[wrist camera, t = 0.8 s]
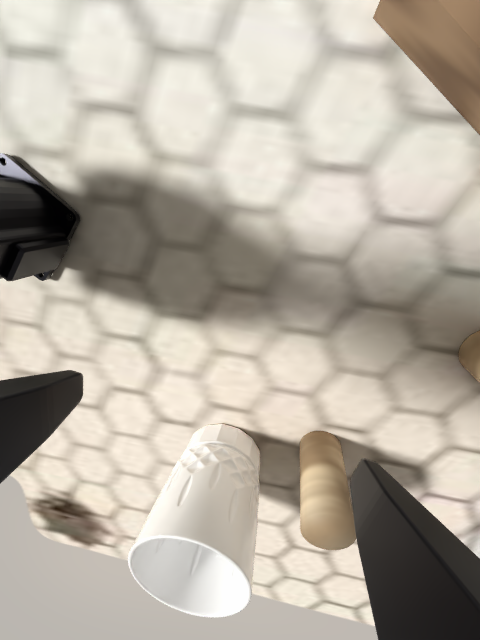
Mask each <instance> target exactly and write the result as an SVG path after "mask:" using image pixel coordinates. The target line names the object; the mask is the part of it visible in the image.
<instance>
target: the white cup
mask: <svg viewBox="0 0 480 640" xmlns="http://www.w3.org/2000/svg"><path fill="white" fill-rule="evenodd" d="M259 472H260V450H259V449H258V447H257V445H256V444H255V442H254V440H253V439H252V438H251V437H250V436H248V435H247V434H246V433H244V432H243V431H242V430H240V429H239V428H235V427H232V426H228V425H225V424H214V425H206V426H204V427H203V428H201V429H199V430H198V431H196V432H195V433H194V434H193V436H192V438H191V440H190V442H189V444H188V446H187V448H186V450H185V451H184V453H183V455H182V456H181V458H180V459H179V460H178V461H177V464H176V466H175V467H174V469H173V470H172V472H171V474H170V476H169V478H168V480H167V482H166V483H165V485H164V487H163V488H162V490H161V492H160V494H159V496H158V498H157V500H156V502H155V504H154V506H153V508H152V510H151V512H150V514H149V516H148V517H147V519H146V521H145V523H144V525H143V527H142V529H141V531H140V533H139V534H138V536H137V538H136V540H135V542H134V544H133V546H132V548H131V550H130V552H129V555H128V564H129V568H130V571H131V573H132V575H133V577H134V578H135V580H136V581H137V583H138V584H139V585H140V586H141V587H142V588H143V589H144V590H145V591H146V592H147V593H149V594H150V595H151V596H153V597H154V598H155V599H157V600H159V601H160V602H162V603H164V604H165V605H167V606H169V607H172V608H174V609H176V610H179V611H182V612H185V613H188V614H192V615H196V616H203V617H225V616H230V615H233V614H236V613H238V612H240V611H241V610H243V609H244V608H245V607H246V606H247V605H248V603H249V602H250V599H251V595H252V582H253V570H254V558H255V546H256V534H257V523H258V515H257V514H258V504H259V488H260V484H259Z"/></svg>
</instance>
